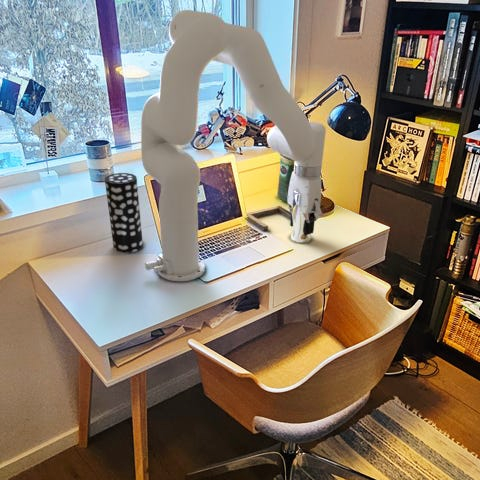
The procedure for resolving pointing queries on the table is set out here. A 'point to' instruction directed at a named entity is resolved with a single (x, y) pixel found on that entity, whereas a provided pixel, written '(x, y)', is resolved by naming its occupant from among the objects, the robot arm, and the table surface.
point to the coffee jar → (285, 177)
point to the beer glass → (299, 220)
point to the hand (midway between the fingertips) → (301, 229)
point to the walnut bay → (265, 212)
